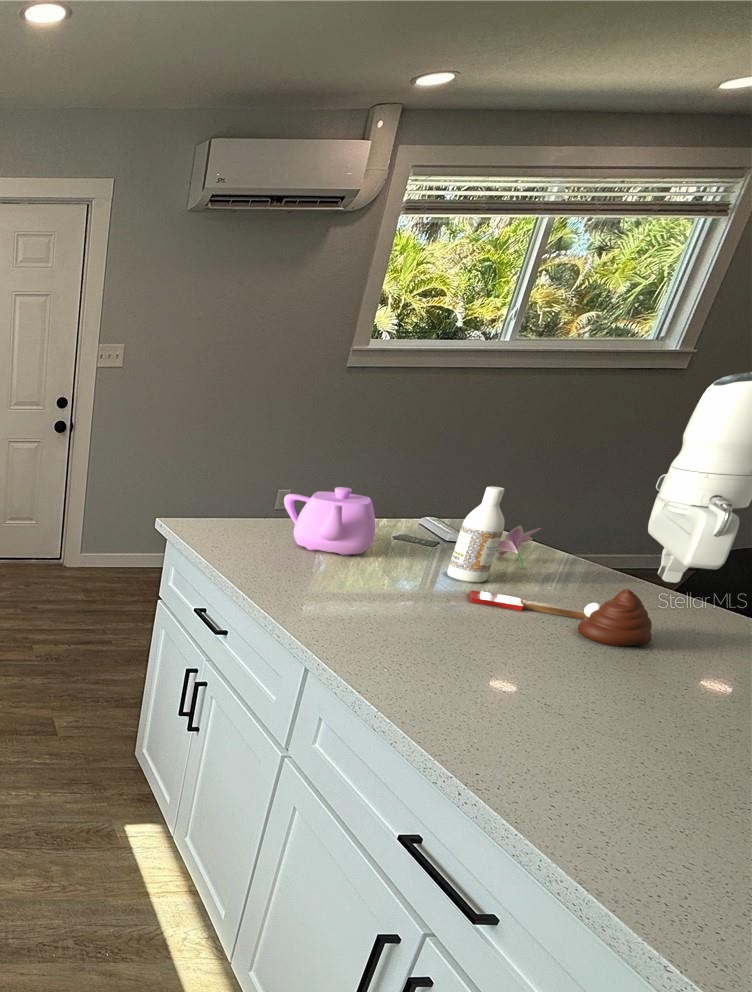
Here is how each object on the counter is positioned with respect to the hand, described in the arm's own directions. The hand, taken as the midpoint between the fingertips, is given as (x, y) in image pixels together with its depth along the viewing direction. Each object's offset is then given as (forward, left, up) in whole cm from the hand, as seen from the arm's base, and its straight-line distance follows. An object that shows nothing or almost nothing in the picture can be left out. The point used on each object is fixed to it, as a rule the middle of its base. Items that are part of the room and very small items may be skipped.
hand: (667, 579), depth 97 cm
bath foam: (+19, -35, -15) cm, 43 cm away
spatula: (+8, -21, -15) cm, 27 cm away
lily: (+11, -52, -15) cm, 56 cm away
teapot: (+46, -42, -15) cm, 65 cm away
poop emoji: (0, -12, -15) cm, 20 cm away
